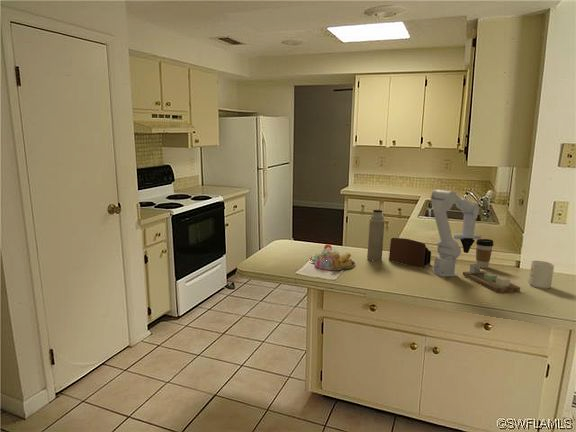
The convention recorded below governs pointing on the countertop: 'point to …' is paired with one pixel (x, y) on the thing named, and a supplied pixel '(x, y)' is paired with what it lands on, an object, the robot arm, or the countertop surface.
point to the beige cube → (502, 281)
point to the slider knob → (474, 269)
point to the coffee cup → (483, 252)
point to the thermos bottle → (376, 236)
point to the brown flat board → (491, 283)
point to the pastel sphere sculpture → (332, 259)
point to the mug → (541, 274)
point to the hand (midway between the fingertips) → (465, 252)
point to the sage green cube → (490, 277)
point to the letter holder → (409, 252)
